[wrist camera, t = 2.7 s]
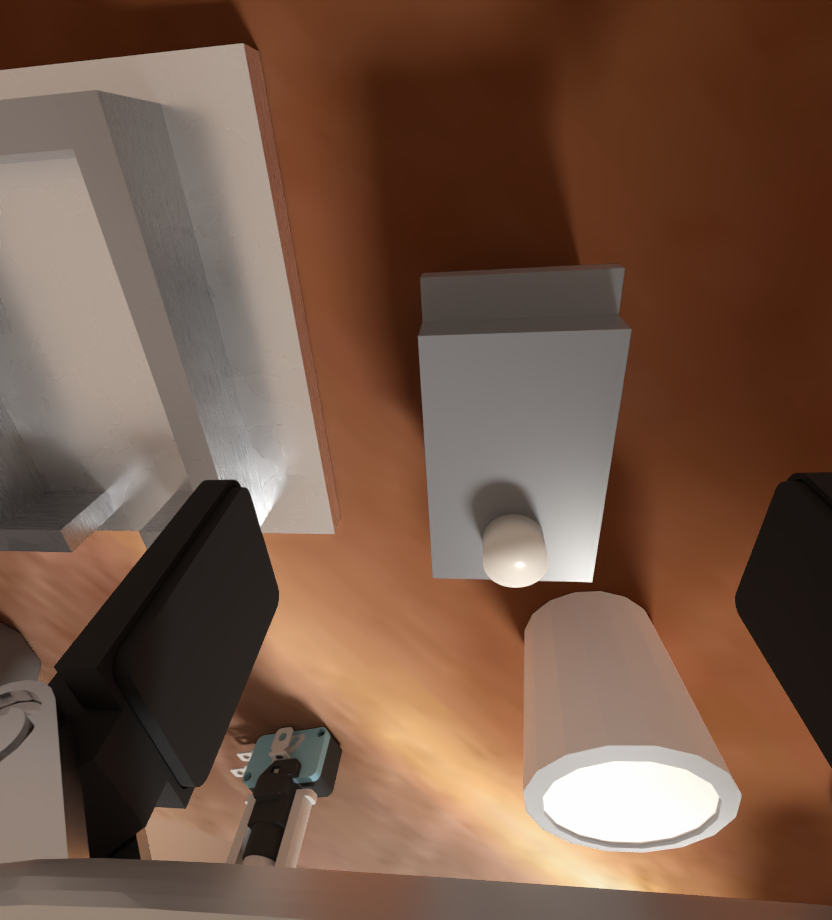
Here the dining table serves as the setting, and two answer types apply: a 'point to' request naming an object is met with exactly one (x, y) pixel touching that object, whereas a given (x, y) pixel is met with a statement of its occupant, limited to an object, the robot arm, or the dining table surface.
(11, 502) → the plate
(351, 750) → the dining table surface
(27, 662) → the liquor
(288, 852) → the push button
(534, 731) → the white cylinder
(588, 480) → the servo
